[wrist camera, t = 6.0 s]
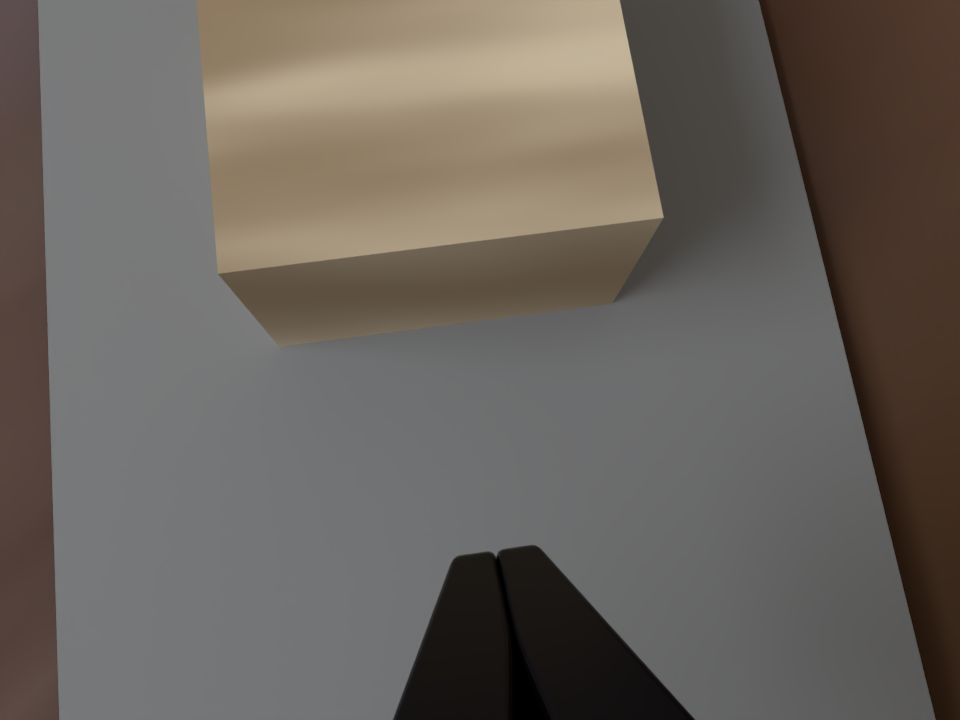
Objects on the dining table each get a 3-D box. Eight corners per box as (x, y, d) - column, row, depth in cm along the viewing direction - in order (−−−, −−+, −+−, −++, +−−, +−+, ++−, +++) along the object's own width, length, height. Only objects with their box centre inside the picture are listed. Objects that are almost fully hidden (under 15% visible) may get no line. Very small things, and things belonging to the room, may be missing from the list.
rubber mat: (987, 980, 14) (1002, 992, 13) (84, 1142, 13) (72, 1161, 12) (671, -319, 19) (675, -338, 19) (38, -263, 19) (30, -280, 18)
